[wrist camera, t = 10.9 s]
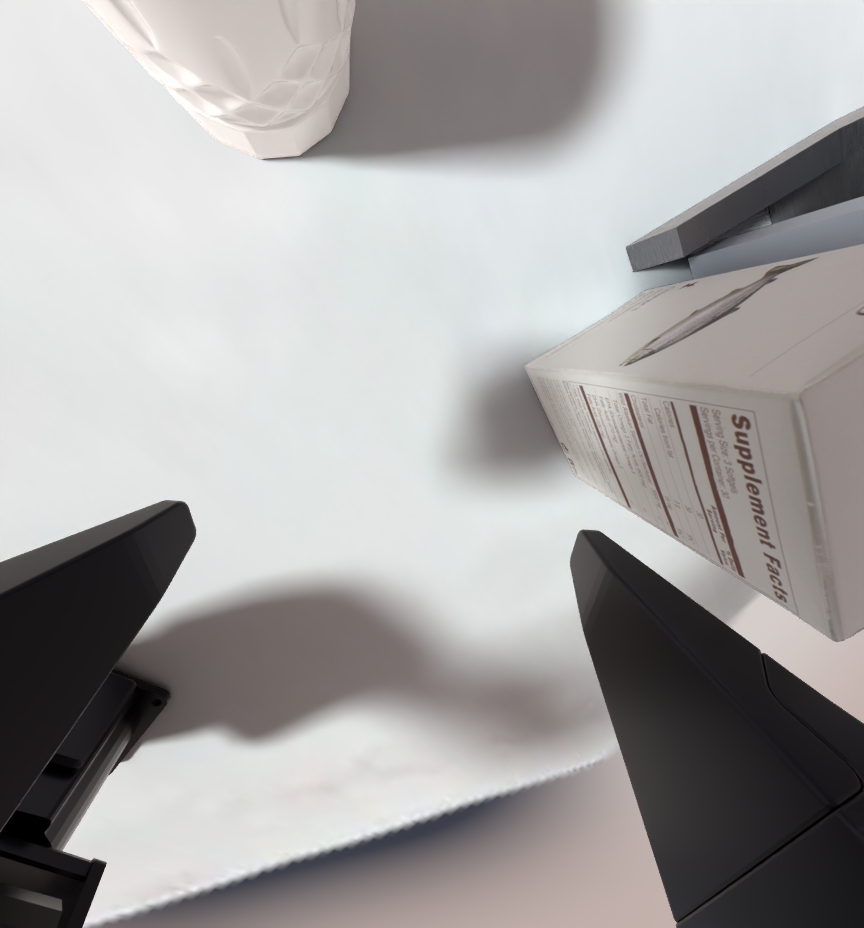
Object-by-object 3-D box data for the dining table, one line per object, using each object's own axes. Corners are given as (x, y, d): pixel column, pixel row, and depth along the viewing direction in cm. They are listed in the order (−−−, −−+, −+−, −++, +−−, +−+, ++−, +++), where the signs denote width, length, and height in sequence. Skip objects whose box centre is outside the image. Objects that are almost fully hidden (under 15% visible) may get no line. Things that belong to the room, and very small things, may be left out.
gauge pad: (734, 442, 20) (1046, 521, 11) (687, 258, 17) (1087, 145, 8) (757, 428, 20) (1089, 495, 11) (715, 241, 17) (1150, 107, 8)
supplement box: (644, 285, 18) (1180, 161, 6) (683, 413, 21) (1116, 498, 9) (516, 363, 18) (803, 387, 6) (570, 480, 21) (848, 658, 9)
